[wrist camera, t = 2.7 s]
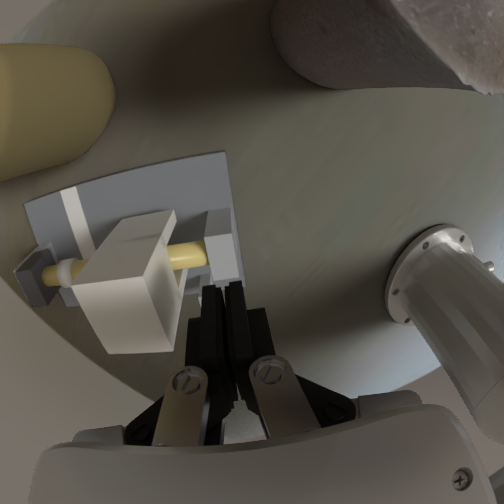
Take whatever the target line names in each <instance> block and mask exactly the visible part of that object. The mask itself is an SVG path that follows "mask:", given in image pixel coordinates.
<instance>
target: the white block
mask: <svg viewBox="0 0 504 504" xmlns="http://www.w3.org/2000/svg"><path fill="white" fill-rule="evenodd" d="M176 222H177V221H176V216H175V212H174V209H172V210H167V211H161V212H156V213H151V214H146V215H140V216H135V217H130V218H126V219H122V220H121V221H120V222H119V223H118V224H117V226H116V227H115V228H114V229H113V230H112V232H111V233H110V234H109V235H108V237H107V238H106V239H105V240H104V242H103V243H102V244H101V245H100V247H99V248H98V249H97V250H96V252H95V253H94V254H93V256H92V257H91V258H90V260H89V261H88V262H87V264H86V265H85V266H84V268H83V269H82V270H81V272H80V273H79V274H78V276H77V277H76V279H75V280H74V282H73V283H72V284H71V288H72V290H73V292H74V294H75V296H76V298H77V300H78V302H79V304H80V306H81V308H82V310H83V311H84V313H85V315H86V317H87V319H88V321H89V322H90V324H91V326H92V328H93V330H94V331H95V333H96V335H97V336H98V338H99V340H100V341H101V343H102V345H103V346H104V348H105V350H106V351H107V353H108V354H131V353H154V352H171V351H173V350H174V344H175V338H176V332H177V326H178V320H179V314H180V309H181V303H182V298H183V293H184V287H185V282H186V277H187V272H188V268H186V269H179V270H173V269H172V266H171V262H170V259H169V255H168V252H167V248H166V246H167V244H168V241H169V239H170V236H171V234H172V231H173V229H174V226H175V224H176Z"/></svg>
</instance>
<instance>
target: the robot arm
mask: <svg viewBox="0 0 504 504" xmlns="http://www.w3.org/2000/svg"><path fill="white" fill-rule="evenodd" d="M473 254H474V252H473V245H472V242H471V239H470V237H469V236H468V235H467V233H466V232H464V231H463V230H462V229H460V228H459V227H457V226H455V225H450V224H444V225H438V226H435V227H433V228H430V229H428V230H427V231H425V232H423V233H422V234H420V235H419V236H418V237H417V238H416V239H414V240H413V241H412V242H411V243H410V244H409V245H408V247H407V248H406V249H405V250H404V251H403V252H402V254H401V255H400V257H399V258H398V259H397V261H396V263H395V265H394V266H393V268H392V270H391V272H390V275H389V278H388V280H387V284H386V288H385V305H386V308H387V310H388V312H389V314H390V315H391V316H392V318H393V319H394V320H395V321H396V322H398V323H399V324H402V325H407V326H413V325H415V326H416V328H417V329H418V330H419V332H420V333H421V335H422V336H423V338H424V339H425V341H426V342H427V343H428V345H429V346H430V348H431V349H432V351H433V352H434V354H435V356H436V357H437V359H438V360H439V362H440V363H441V365H442V366H443V368H444V370H445V371H446V373H447V374H448V376H449V378H450V379H451V381H452V382H453V384H454V386H455V387H456V389H457V391H458V393H459V394H460V396H461V398H462V399H463V401H464V403H465V405H466V406H467V408H468V410H469V412H470V414H471V415H472V417H473V419H474V421H475V422H476V424H477V426H478V427H479V429H480V430H481V431H482V433H483V434H484V435H485V436H487V437H488V438H489V439H491V440H493V441H495V442H497V443H500V444H503V445H504V283H503V282H502V281H500V280H499V279H498V278H497V277H496V276H495V275H494V274H493V273H492V272H493V271H494V264H493V262H491V261H489V262H486V263H482V262H481V261H480V260H479V259H477V258H476V257H475V256H474V255H473ZM224 288H225V303H224V299H223V294H222V290H221V287H216V285H215V284H213V285H206V286H202V299H201V317H197V318H189V321H188V330H187V342H186V355H185V367H182V368H179V369H178V370H176V371H175V372H174V373H173V374H172V375H171V376H170V378H169V380H168V384H167V388H166V391H165V395H163V396H162V397H161V398H160V399H159V400H157V401H156V402H155V403H154V404H153V405H151V406H150V407H149V408H148V409H146V410H145V411H144V412H143V413H141V414H140V415H139V416H138V417H136V418H135V419H134V420H133V421H132V422H130V423H129V425H127V426H126V427H123V426H122V425H118V426H112V427H104V428H97V429H89V430H82V431H79V432H78V433H77V434H75V436H74V438H73V440H72V442H66V443H60V444H57V445H54V446H51V447H49V448H47V449H45V450H44V451H43V452H42V453H41V455H40V456H39V458H38V460H37V463H36V465H35V469H34V472H33V476H32V480H31V485H30V492H29V498H28V504H504V466H503V467H502V468H501V469H499V470H498V471H496V472H495V473H493V474H492V475H490V476H489V477H488V475H487V472H486V470H485V468H484V465H483V463H482V460H481V458H480V456H479V453H478V451H477V449H476V447H475V446H474V444H473V442H472V440H471V438H470V436H469V434H468V433H467V431H466V429H465V428H464V426H463V425H462V423H461V422H460V420H459V419H458V418H457V417H456V416H455V414H454V413H453V412H452V411H450V410H449V409H447V408H446V407H443V406H439V405H434V404H422V400H421V398H420V397H419V395H417V393H415V392H413V391H410V390H402V391H396V392H388V393H381V394H372V395H363V396H358V398H355V399H349V398H347V397H346V396H344V395H341V394H339V393H336V392H334V391H332V390H329V389H327V388H325V387H322V386H320V385H318V384H316V383H313V382H311V381H309V380H307V379H305V378H302V377H300V376H298V375H296V374H294V372H293V369H292V367H291V365H290V364H289V363H288V361H287V360H285V359H284V358H282V357H279V356H276V354H275V350H274V346H273V342H272V337H271V333H270V329H269V324H268V320H267V316H266V312H265V308H258V309H252V310H247V309H246V303H245V297H244V291H243V285H242V280H239V281H233V282H229V286H224ZM225 305H226V308H225ZM236 382H237V385H238V389H239V392H240V395H241V399H242V400H245V401H246V405H247V408H248V409H249V410H250V411H252V412H254V413H255V414H257V415H258V416H259V420H260V423H261V425H262V428H263V431H264V434H265V437H266V440H260V441H253V442H245V443H237V444H225V445H223V442H224V433H225V424H226V420H225V417H226V416H227V415H228V414H229V413H230V412H231V409H233V408H234V404H233V401H238V394H237V385H236Z"/></svg>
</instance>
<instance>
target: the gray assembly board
mask: <svg viewBox="0 0 504 504" xmlns="http://www.w3.org/2000/svg"><path fill="white" fill-rule="evenodd" d="M24 207H25V210H26V213H27V216H28V219H29V222H30V225H31V227H32V230H33V233H34V236H35V238H36V241H37V243H38V246H37V247H36V248H35V249H34V250H33V251H32V252H31V253H30V254H29V255H28V256H27V257H26V258H25V259H24V260H23V261H22V262H21V263H20V264H19V265H18V266H17V267H16V268H15V269H14V270H13V271H14V274H15V276H16V278H17V280H18V282H19V284H20V286H21V288H22V290H23V292H24V294H25V295H26V297H27V299H28V301H29V302H30V304H31V306H32V307H36V306H48V305H49V303H50V302H51V300H52V299H53V297H54V296H55V295H56V293H57V292H58V291H59V293H60V295H61V296H62V298H63V300H64V302H65V304H66V306H67V307H73V306H80V304H79V302H78V300H77V298H76V296H75V294H74V292H73V290H72V288H71V284H72V283H73V282H74V280H75V279H76V277H77V276H78V274H79V273H80V272H81V270H82V269H83V268H84V266H85V265H86V264H87V262H88V261H89V260H90V258H91V257H92V256H93V254H94V253H95V252H96V250H97V249H98V248H99V247H100V245H101V244H102V243H103V242H104V240H105V239H106V238H107V237H108V235H109V234H110V233H111V232H112V230H113V229H114V228H115V227H116V226H117V224H118V223H119V222H120V221H121V220H122V219H126V218H130V217H135V216H140V215H146V214H151V213H156V212H161V211H167V210H172V209H174V212H175V216H176V221H177V222H176V224H175V226H174V229H173V231H172V234H171V236H170V239H169V241H168V244H167V246H166V248H167V252H168V255H169V259H170V262H171V266H172V269H173V270H179V269H186V268H188V272H187V277H186V282H185V287H184V293H183V295H189V294H197V293H198V299H199V302H200V306H201V299H202V286H206V285H213V284H215V285H216V287H221V290H225V288H224V286H229V282H233V281H239V280H242V285H243V287H246V285H245V277H244V271H243V265H242V258H241V252H240V246H239V239H238V233H237V226H236V219H235V213H234V206H233V200H232V193H231V186H230V179H229V173H228V166H227V159H226V152H225V150H222V151H215V152H209V153H203V154H197V155H192V156H186V157H181V158H176V159H171V160H166V161H162V162H157V163H153V164H148V165H144V166H140V167H135V168H131V169H127V170H123V171H120V172H116V173H112V174H108V175H105V176H101V177H98V178H94V179H91V180H88V181H84V182H81V183H78V184H75V185H71V186H68V187H65V188H62V189H59V190H56V191H54V192H51V193H48V194H45V195H42V196H40V197H37V198H34V199H32V200H29V201H28V202H26V203H25V204H24Z"/></svg>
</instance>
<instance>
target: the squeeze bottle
mask: <svg viewBox="0 0 504 504" xmlns="http://www.w3.org/2000/svg"><path fill="white" fill-rule="evenodd" d="M116 94H117V93H116V90H115V87H114V83H113V80H112V78H111V76H110V73H109V71H108V68H107V66H106V65H105V64H104V62H103V61H102V60H101V59H100V58H99V57H98V56H97V55H96V54H95V53H94V52H93V51H89V50H86V49H82V48H78V47H72V46H62V45H50V44H26V43H11V44H0V182H3V181H6V180H9V179H12V178H15V177H18V176H21V175H25V174H28V173H32V172H35V171H39V170H43V169H46V168H50V167H54V166H58V165H62V164H66V163H69V162H71V161H72V160H74V159H76V158H78V157H79V156H81V155H83V154H85V153H86V152H87V151H88V149H89V148H90V147H91V146H92V144H93V143H94V142H95V141H96V140H97V139H98V137H99V136H100V135H101V134H102V132H103V131H104V129H105V128H106V126H107V125H108V124H109V122H110V120H111V117H112V115H113V113H114V110H115V106H116Z"/></svg>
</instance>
